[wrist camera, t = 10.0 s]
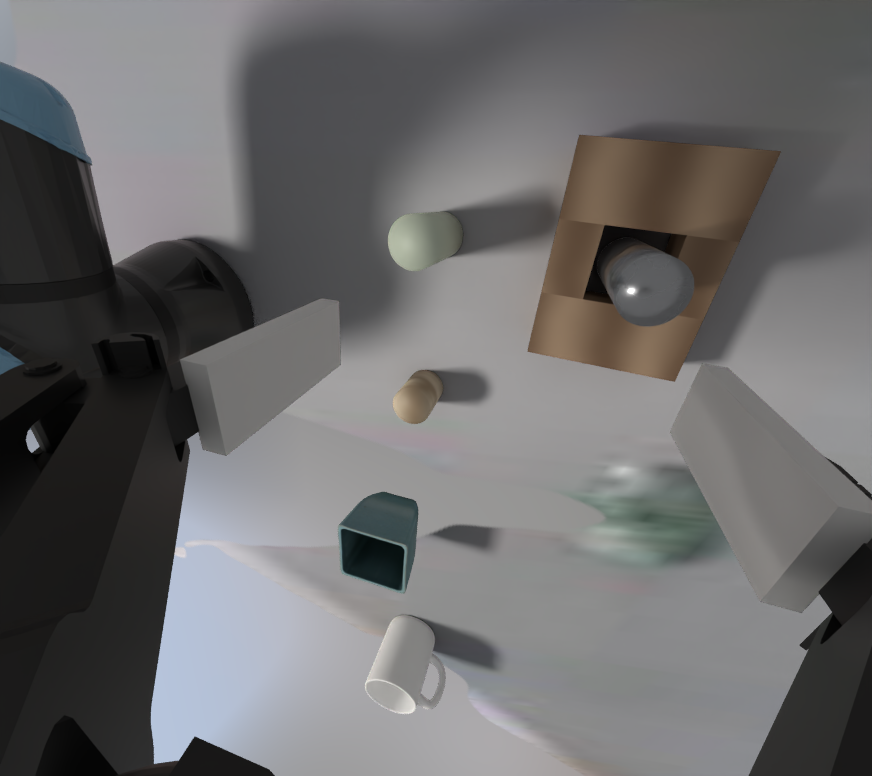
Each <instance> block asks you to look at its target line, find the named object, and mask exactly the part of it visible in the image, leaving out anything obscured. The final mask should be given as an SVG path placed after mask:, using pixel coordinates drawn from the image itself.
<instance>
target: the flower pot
mask: <svg viewBox="0 0 872 776" xmlns="http://www.w3.org/2000/svg"><path fill="white" fill-rule="evenodd" d="M417 522H418V507H417V503H416V501H414V500H412V499H408V498H405V497H401V496H397V495H394V494H390V493H387V492H380V493H376V494H373V495H370V496H368V497H366V498H365V499H363V500H362V501H361V502H360V503H359V504H358V505H357V506H356V507H355V508H354V509H353V510H352V511H351V512H350V513H349V514H348V515H347V517H346V518H345V519H344V520H343V521H342V522H341V523H340V524H339V526H338V537H339V550H340V569H341V572H342V574H344V575H347V576H350V577H352V578H355V579H359V580H362V581H365V582H368V583H371V584H374V585H377V586H381V587H384V588H387V589H389V590H392V591H395V592H398V593H405V591H406V588H407V584H408V580H409V577H410V573H411V569H412V565H413V561H414V557H415V549H416V534H417Z"/></svg>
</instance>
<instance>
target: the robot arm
mask: <svg viewBox="0 0 872 776" xmlns="http://www.w3.org/2000/svg"><path fill="white" fill-rule="evenodd" d="M90 165H92V161H91V159H90V157H89V156H88V155H87V154H86V151H85V147H84V144H83V141H82V138H81V135H80V131H79V128H78V124H77V121H76V117H75V114H74V112H73V109H72V107H71V106H70V104H69V103H68V101H67V100H66V99H65V98H64V96H63V95H62V94H61V93H60V92H59V91H58V90H56V89H55V88H54V87H53V86H51V85H50V84H48V83H47V82H45V81H44V80H42V79H40V78H38V77H36V76H34V75H32V74H30V73H27V72H25V71H22V70H20V69H17V68H15V67H12V66H10V65H7V64H5V63H2V62H0V776H275V775H273V773H272V772H271V771H270V770H269V769H267V768H264V767H262V766H260V765H258V764H256V763H253V762H251V761H249V760H246V759H244V758H242V757H240V756H237V755H235V754H233V753H231V752H228V751H226V750H224V749H222V748H220V747H217V746H215V745H213V744H210V743H208V742H206V741H204V740H202V739H199V738H197V737H194V739H193V740H192V741H191V743H190V745H189V746H188V748H187V749H186V751H185V752H184V754H183V755H182V757H181V758H180V760H179V761H172V762H165V763H158V764H154V747H153V738H152V730H151V703H152V697H153V690H154V684H155V677H156V670H157V664H158V657H159V651H160V644H161V638H162V631H163V624H164V617H165V611H166V605H167V598H168V592H169V585H170V578H171V571H172V565H173V559H174V552H175V545H176V539H177V532H178V526H179V519H180V513H181V506H182V500H183V493H184V486H185V480H186V473H187V467H188V460H189V454H190V449H189V445H188V441H187V439H188V438H190V437H191V436H193V435H194V434H195V433H197V432H199V436H200V440H201V444H202V448H203V450H206V451H210V452H214V453H217V454H221V455H225V456H227V455H228V454H229V453H230V452H232V451H233V450H234V449H235V448H237V447H238V446H239V445H240V444H242V443H243V442H244V441H245V440H247V439H248V438H249V437H250V436H252V435H253V434H254V433H256V432H257V431H258V430H259V429H261V428H262V427H263V426H264V425H266V424H267V423H268V422H269V421H271V420H272V419H273V418H274V417H276V416H277V415H278V414H279V413H281V412H282V411H283V410H284V409H286V408H287V407H288V406H289V405H291V404H292V403H293V402H294V401H296V400H297V399H298V398H299V397H301V396H302V395H303V394H304V393H306V392H307V391H308V390H310V389H311V388H312V387H313V386H315V385H316V384H317V383H318V382H320V381H321V380H322V379H323V378H325V377H326V376H327V375H328V374H330V373H331V372H332V371H333V370H335V369H336V368H337V367H338V366H340V365H341V349H340V317H339V301H335V300H329V299H323V298H321V299H318V300H316V301H314V302H311V303H309V304H307V305H305V306H302V307H300V308H298V309H295V310H293V311H291V312H288V313H286V314H284V315H282V316H279V317H277V318H275V319H272V320H270V321H268V322H265V323H263V324H261V325H259V326H256V327H254V328H253V317H252V311H251V306H250V303H249V300H248V297H247V295H246V292H245V290H244V288H243V286H242V284H241V282H240V281H239V279H238V277H237V276H236V275H235V273H234V272H233V270H232V269H231V268H230V267H229V266H228V265H227V263H226V262H225V261H224V260H223V259H222V258H221V257H219V256H218V255H217V254H216V253H214V252H213V251H212V250H210V249H209V248H207V247H205V246H203V245H201V244H199V243H196V242H193V241H189V240H172V241H162V242H158V243H155V244H152V245H150V246H148V247H146V248H144V249H142V250H141V251H139V252H137V253H135V254H133V255H131V256H130V257H128V258H126V259H124V260H122V261H120V262H119V263H117V264H115V265H113V264H112V259H111V255H110V251H109V246H108V242H107V238H106V234H105V230H104V226H103V222H102V218H101V213H100V209H99V204H98V200H97V195H96V191H95V186H94V182H93V177H92V173H91V168H90ZM30 429H31V430H32V432H33V434H34V436H35V438H36V440H37V442H38V443H39V446H40V447H39V448H38V449H36V450H35V451H34V452H33V453H31V452H30V451H29V450H28V447H27V443H26V436H27V432H28V430H30ZM670 433H671V435H672V437H673V439H674V441H675V443H676V445H677V447H678V448H679V450H680V452H681V454H682V456H683V458H684V460H685V462H686V464H687V465H688V467H689V469H690V471H691V473H692V475H693V477H694V479H695V480H696V482H697V484H698V486H699V488H700V490H701V492H702V494H703V495H704V497H705V499H706V501H707V503H708V505H709V507H710V509H711V510H712V512H713V514H714V516H715V518H716V520H717V522H718V524H719V525H720V527H721V529H722V531H723V533H724V535H725V537H726V539H727V541H728V542H729V544H730V546H731V548H732V550H733V552H734V554H735V556H736V557H737V559H738V561H739V563H740V565H741V567H742V569H743V571H744V572H745V574H746V576H747V578H748V580H749V582H750V584H751V586H752V587H753V589H754V591H755V593H756V595H757V597H758V599H759V601H760V602H763V603H767V604H771V605H774V606H778V607H782V608H785V609H789V610H793V611H796V612H800V613H802V612H803V611H804V610H805V609H806V608H807V607H808V606H809V605H810V603H811V602H812V601H813V600H814V599H815V598H816V597H817V596H818V595H819V594H820V595H821V597H822V598H823V599H824V601H825V602H826V604H827V605H828V607H829V608H830V610H831V611H832V613H831V614H830V615H829V616H828V617H827V618H826V619H825V620H824V621H823V622H822V623H821V624H820V625H819V626H818V627H817V628H816V629H815V630H814V631H813V632H812V633H811V634H810V635H809V636H808V637H807V638H806V639H805V640H804V641H803V642H802V643H801V644H800V646H801V647H802V648H804V649H805V650H808V649H809V650H808V652H807V654H806V656H805V658H804V660H803V662H802V664H801V667H800V669H799V671H798V673H797V675H796V677H795V679H794V681H793V683H792V685H791V688H790V690H789V692H788V694H787V696H786V698H785V700H784V702H783V704H782V706H781V709H780V711H779V713H778V715H777V717H776V719H775V721H774V723H773V725H772V728H771V730H770V732H769V734H768V736H767V738H766V740H765V742H764V744H763V746H762V749H761V751H760V753H759V755H758V757H757V759H756V761H755V763H754V765H753V768H752V770H751V772H750V774H749V776H872V497H871V495H872V494H871V493H869V492H868V491H867V490H866V489H865V488H864V487H863V486H862V485H859V484H857V483H858V482H857V481H856V480H855V479H854V478H853V477H852V476H851V475H850V474H848V473H847V472H846V471H845V470H844V469H843V468H842V467H841V466H839V465H837V464H836V463H834V462H832V461H831V460H829V459H828V458H826V457H824V456H823V455H822V454H821V453H820V452H819V451H818V450H816V449H815V448H814V447H813V446H812V445H811V444H810V443H809V442H808V441H807V440H806V439H805V438H803V437H802V436H801V435H800V434H799V433H798V432H797V431H796V430H795V429H794V428H793V427H792V426H790V425H789V424H788V423H787V422H786V421H785V420H784V419H783V418H782V417H781V416H780V415H778V414H777V413H776V412H775V411H774V410H773V409H772V408H771V407H770V406H769V405H768V404H767V403H765V402H764V401H763V400H762V399H761V398H760V397H759V396H758V395H757V394H756V393H755V392H754V391H752V390H751V389H750V388H749V387H748V386H747V385H746V384H745V383H744V382H743V381H742V380H741V379H739V378H738V377H737V376H736V375H735V374H734V373H733V372H732V371H731V370H730V369H729V368H726V367H720V366H714V365H709V364H703V363H702V365H701V367H700V369H699V371H698V373H697V375H696V378H695V380H694V382H693V384H692V386H691V388H690V390H689V392H688V394H687V397H686V399H685V401H684V403H683V405H682V407H681V409H680V411H679V413H678V416H677V418H676V420H675V422H674V424H673V426H672V428H671V430H670Z"/></svg>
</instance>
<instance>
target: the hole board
mask: <svg viewBox="0 0 872 776" xmlns="http://www.w3.org/2000/svg"><path fill="white" fill-rule="evenodd" d="M780 153H781V151H770V150H758V149H746V148H734V147H721V146H709V145H697V144H685V143H672V142H660V141H648V140H636V139H623V138H611V137H599V136H587V135H579V138H578V142H577V146H576V150H575V154H574V158H573V163H572V167H571V171H570V175H569V179H568V184H567V188H566V192H565V196H564V200H563V204H562V209H561V213H560V217H559V221H558V225H557V229H556V234H555V238H554V242H553V246H552V250H551V254H550V259H549V263H548V267H547V271H546V275H545V279H544V284H543V288H542V292H541V296H540V300H539V304H538V309H537V313H536V317H535V321H534V325H533V330H532V334H531V338H530V342H529V347H528V351H527V352H532V353H537V354H542V355H547V356H552V357H557V358H561V359H566V360H571V361H576V362H581V363H586V364H591V365H596V366H601V367H605V368H610V369H615V370H620V371H625V372H630V373H635V374H640V375H644V376H649V377H654V378H659V379H664V380H669V381H674V382H675V380H676V378H677V376H678V373H679V371H680V369H681V367H682V365H683V363H684V361H685V358H686V356H687V354H688V352H689V350H690V348H691V345H692V343H693V341H694V339H695V337H696V335H697V332H698V330H699V328H700V326H701V324H702V322H703V319H704V317H705V315H706V313H707V311H708V309H709V306H710V304H711V302H712V300H713V298H714V296H715V293H716V291H717V289H718V287H719V285H720V283H721V280H722V278H723V276H724V274H725V272H726V270H727V267H728V265H729V263H730V261H731V259H732V257H733V254H734V252H735V250H736V248H737V246H738V244H739V242H740V239H741V237H742V235H743V233H744V231H745V229H746V226H747V224H748V222H749V220H750V218H751V216H752V213H753V211H754V209H755V207H756V205H757V203H758V200H759V198H760V196H761V194H762V192H763V190H764V187H765V185H766V183H767V181H768V179H769V177H770V174H771V172H772V170H773V168H774V166H775V164H776V161H777V159H778V157H779V155H780ZM605 225H610V226H618V227H626V228H633V229H641V230H649V231H657V232H664V233H672V234H671V236H670V239H669V242H668V244H667V247H666V250H665V253H667V254H669V255H671V256H673V257H675V258H677V259H679V260H681V261H682V262H684V263H685V264H686V265H687V266H688V267H689V269H690V270H691V272H692V274H693V278H694V292H693V295H692V298H691V300H690V302H689V304H688V305H687V307H686V308H685V309H684V310H683V312H681V313H680V314H679V315H678V316H677V317H675V318H674V319H672V320H671V321H669V322H666V323H664V324H661V325H657V326H651V327H644V326H638V325H634V324H632V323H630V322H628V321H626V320H625V319H624V318H623V317H622V316H621V315H620V314H619V313H618V311H617V309H616V307H615V305H614V303H613V302H612V300H611V298H610V296H609V294H605V293H599V292H593V291H587V290H586V287H587V283H588V280H589V276H590V273H591V270H592V266H593V263H594V259H595V256H596V253H597V249H598V246H599V242H600V239H601V236H602V232H603V229H604V226H605Z"/></svg>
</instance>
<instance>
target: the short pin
mask: <svg viewBox="0 0 872 776" xmlns="http://www.w3.org/2000/svg"><path fill="white" fill-rule="evenodd" d="M442 393H443V384H442V381H441V379H440V378H439V377H438V376H437V375H436V374H435V373H433V372H431V371H428V370H420V371H417V372H415V373H414V374H413V375H412V376H411V377H410V379H409V380H408V381H407V382H406V383H405V384H404V386H403V387H402V388H401V389H400V390H399V391H398V392H397V394H396V395H395V396H394V399H393V408H394V411H395V412H396V414H397V415H398V416H399V417H400V418H401V419H402V420H403V421H405V422H408V423H411V424H418V423H421V422H423V421H425V420H426V419H427V418H428V416H429V414H430V413H431V411H432V409H433V408H434V406H435V405H436V403H437V401H438V400H439V398H440V397H441V395H442Z"/></svg>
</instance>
